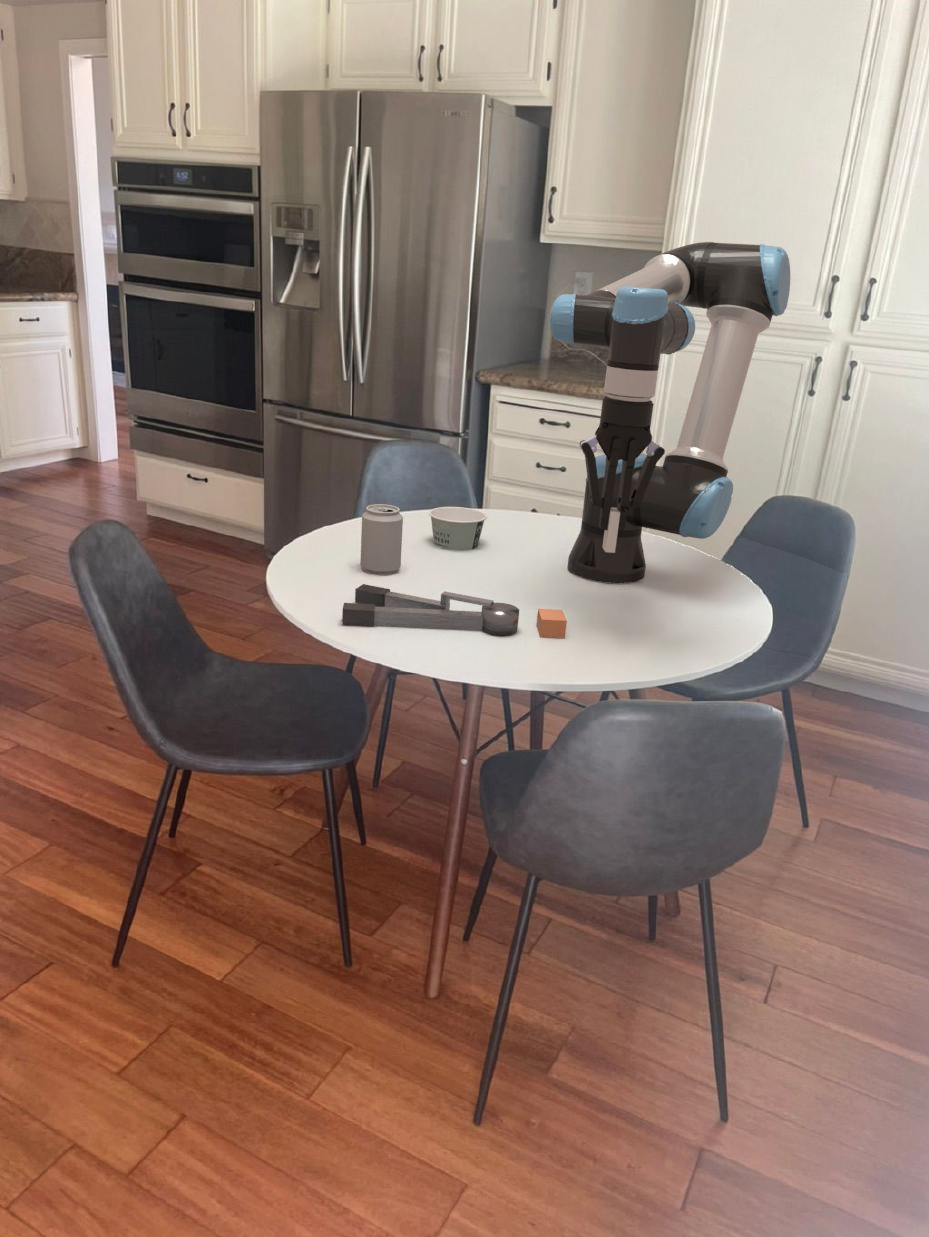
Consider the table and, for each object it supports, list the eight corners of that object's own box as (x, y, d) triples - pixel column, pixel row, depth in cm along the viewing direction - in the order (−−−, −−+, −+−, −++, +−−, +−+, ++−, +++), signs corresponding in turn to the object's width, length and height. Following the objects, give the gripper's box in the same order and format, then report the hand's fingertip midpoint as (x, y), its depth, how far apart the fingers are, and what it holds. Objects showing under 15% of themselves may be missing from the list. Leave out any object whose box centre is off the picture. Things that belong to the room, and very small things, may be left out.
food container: (415, 543, 194) (417, 512, 192) (449, 533, 204) (451, 503, 202) (463, 556, 188) (465, 524, 186) (495, 544, 198) (498, 514, 195)
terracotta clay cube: (560, 626, 155) (562, 609, 154) (564, 638, 150) (566, 620, 149) (536, 625, 154) (538, 608, 153) (540, 637, 150) (541, 619, 149)
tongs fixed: (515, 623, 155) (517, 603, 153) (519, 637, 149) (521, 616, 148) (344, 615, 153) (344, 594, 151) (341, 628, 147) (342, 607, 146)
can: (394, 578, 172) (397, 514, 168) (355, 572, 174) (357, 509, 169) (404, 566, 179) (407, 505, 175) (367, 561, 180) (369, 500, 176)
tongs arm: (493, 623, 153) (495, 599, 152) (487, 628, 151) (489, 604, 149) (362, 597, 160) (363, 574, 159) (355, 602, 158) (355, 579, 156)
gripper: (665, 397, 143) (644, 545, 152) (581, 391, 143) (564, 541, 151) (678, 403, 136) (654, 559, 145) (589, 397, 136) (571, 554, 144)
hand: (608, 549), depth 148 cm, fingers closed
